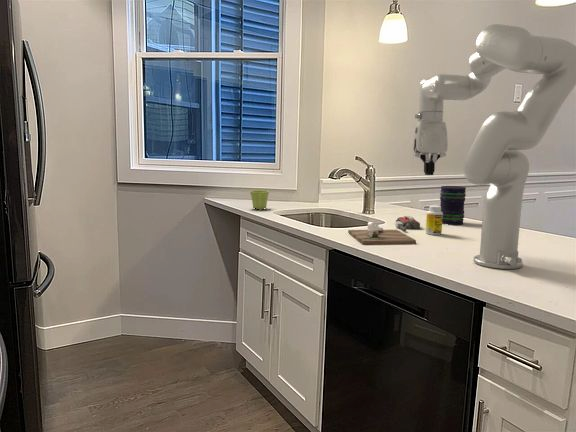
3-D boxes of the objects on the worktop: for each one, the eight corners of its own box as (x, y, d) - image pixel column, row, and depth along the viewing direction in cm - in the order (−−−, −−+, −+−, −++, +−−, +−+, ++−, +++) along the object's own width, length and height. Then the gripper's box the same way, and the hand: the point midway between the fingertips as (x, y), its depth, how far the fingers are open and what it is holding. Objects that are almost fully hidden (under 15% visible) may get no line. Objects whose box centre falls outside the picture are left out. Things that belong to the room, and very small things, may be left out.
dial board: (415, 243, 161) (416, 239, 161) (362, 244, 159) (362, 240, 159) (396, 232, 180) (396, 228, 180) (348, 233, 178) (348, 229, 177)
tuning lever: (375, 237, 163) (376, 224, 162) (364, 236, 164) (365, 223, 163) (384, 230, 175) (385, 218, 175) (374, 229, 177) (375, 217, 176)
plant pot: (247, 208, 238) (247, 190, 237) (266, 207, 241) (266, 189, 239) (252, 210, 229) (252, 192, 228) (271, 210, 232) (271, 192, 231)
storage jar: (468, 224, 199) (471, 187, 197) (449, 225, 196) (451, 188, 194) (452, 220, 209) (454, 185, 206) (433, 221, 205) (435, 186, 203)
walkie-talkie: (390, 224, 200) (401, 233, 181) (391, 213, 200) (402, 221, 180) (412, 224, 200) (425, 233, 181) (412, 213, 200) (426, 222, 180)
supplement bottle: (434, 236, 175) (436, 207, 173) (422, 233, 179) (423, 205, 178) (444, 234, 178) (446, 206, 176) (432, 232, 182) (434, 204, 181)
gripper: (413, 117, 154) (412, 175, 157) (458, 117, 157) (455, 175, 159) (404, 118, 162) (402, 174, 164) (446, 119, 164) (445, 174, 166)
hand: (429, 174), depth 161 cm, fingers closed
